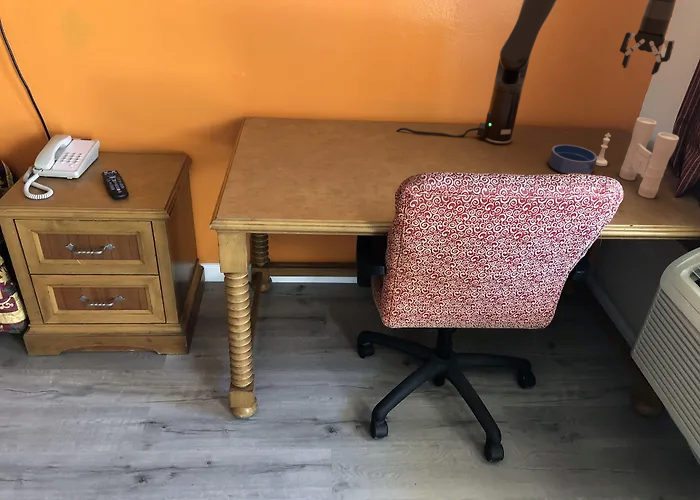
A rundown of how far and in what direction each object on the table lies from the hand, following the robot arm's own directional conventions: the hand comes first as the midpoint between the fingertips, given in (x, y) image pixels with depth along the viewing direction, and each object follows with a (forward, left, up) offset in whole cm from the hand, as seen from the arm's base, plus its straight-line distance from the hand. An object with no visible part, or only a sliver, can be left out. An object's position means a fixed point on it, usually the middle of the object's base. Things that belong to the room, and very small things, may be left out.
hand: (638, 70), depth 187 cm
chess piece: (-5, -12, -27) cm, 30 cm away
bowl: (-14, -21, -27) cm, 37 cm away
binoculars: (+6, -25, -27) cm, 38 cm away
